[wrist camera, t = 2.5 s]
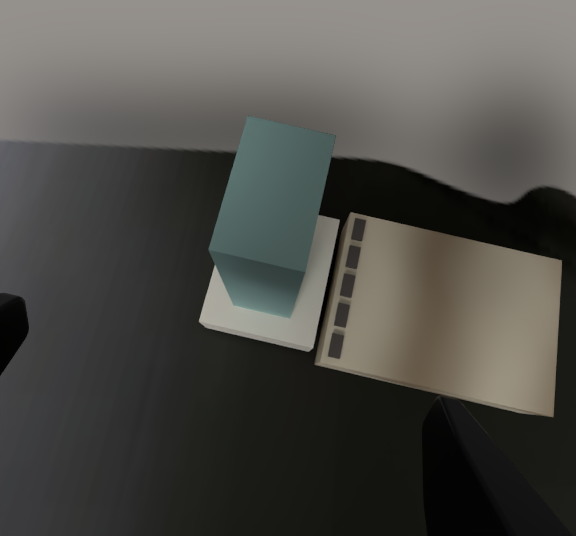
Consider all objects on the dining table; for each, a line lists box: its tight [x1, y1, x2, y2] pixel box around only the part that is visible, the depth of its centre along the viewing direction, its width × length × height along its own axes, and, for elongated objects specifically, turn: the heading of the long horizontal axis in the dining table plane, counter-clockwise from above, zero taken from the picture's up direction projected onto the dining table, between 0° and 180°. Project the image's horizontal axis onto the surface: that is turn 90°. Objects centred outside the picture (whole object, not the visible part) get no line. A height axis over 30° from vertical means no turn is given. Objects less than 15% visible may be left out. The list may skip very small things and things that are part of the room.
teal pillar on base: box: [199, 116, 340, 352], centre depth 16 cm, size 5×6×10 cm
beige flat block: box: [314, 212, 562, 417], centre depth 20 cm, size 10×7×3 cm
